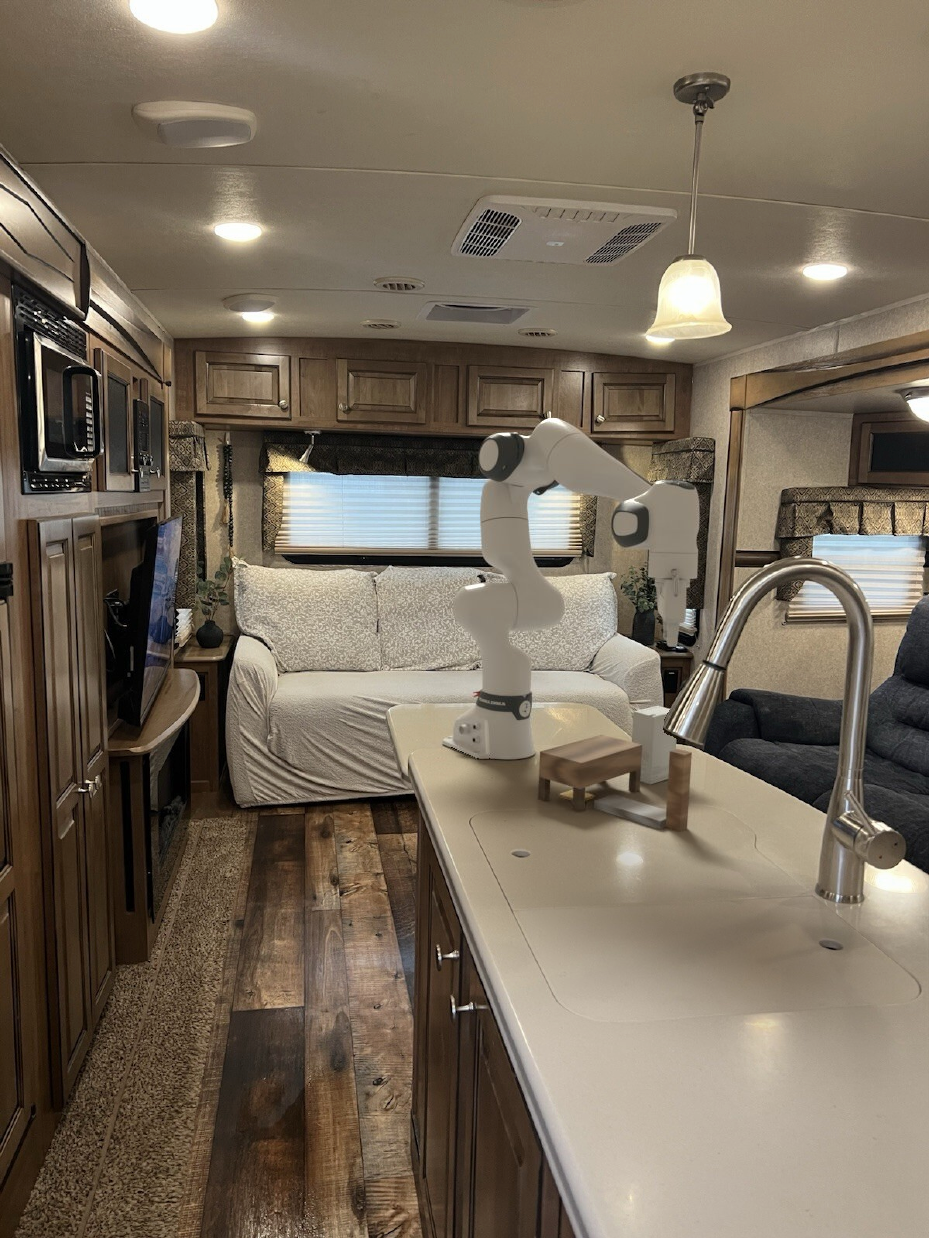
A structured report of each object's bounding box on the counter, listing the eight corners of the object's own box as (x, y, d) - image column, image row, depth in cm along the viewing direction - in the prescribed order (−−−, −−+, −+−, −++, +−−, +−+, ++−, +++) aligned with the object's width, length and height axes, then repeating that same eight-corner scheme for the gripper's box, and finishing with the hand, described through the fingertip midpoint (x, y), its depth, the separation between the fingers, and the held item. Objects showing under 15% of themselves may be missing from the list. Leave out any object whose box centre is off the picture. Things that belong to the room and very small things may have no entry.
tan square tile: (558, 798, 180) (558, 794, 180) (573, 793, 184) (573, 788, 184) (579, 805, 177) (579, 800, 177) (594, 799, 181) (594, 794, 181)
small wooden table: (537, 799, 178) (539, 751, 177) (599, 778, 192) (601, 734, 191) (579, 812, 171) (581, 762, 170) (639, 790, 185) (642, 744, 184)
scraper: (692, 825, 166) (697, 750, 164) (674, 833, 162) (679, 756, 160) (612, 801, 178) (616, 731, 176) (594, 808, 174) (597, 736, 172)
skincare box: (653, 771, 199) (657, 704, 197) (675, 778, 194) (680, 710, 192) (627, 778, 194) (631, 709, 192) (650, 785, 189) (654, 715, 187)
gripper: (695, 571, 158) (692, 650, 159) (685, 567, 178) (682, 637, 180) (658, 570, 159) (655, 649, 160) (652, 566, 179) (650, 636, 180)
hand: (670, 643), depth 170 cm, fingers open, 8 cm apart
